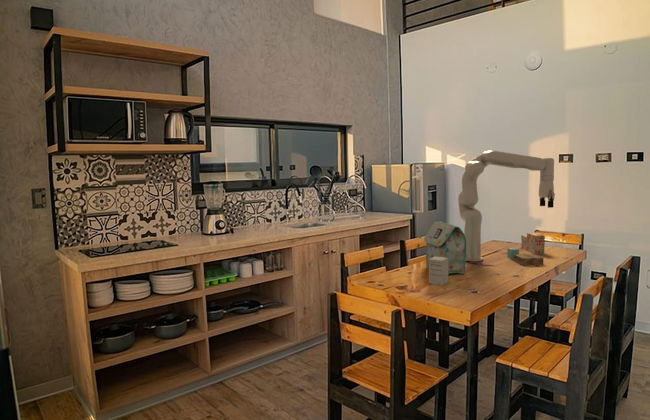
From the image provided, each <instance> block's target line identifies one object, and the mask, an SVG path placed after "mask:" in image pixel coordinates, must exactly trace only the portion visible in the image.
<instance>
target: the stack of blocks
mask: <svg viewBox="0 0 650 420" xmlns="http://www.w3.org/2000/svg"><path fill="white" fill-rule="evenodd" d="M520 239H521V249H522V250H524V251H527V252H529V253H530V254H535V255H545V243H546V240H545V239H546V236H545V235H544V234H542V233H539V232H526V234H522V235H521V238H520Z"/></svg>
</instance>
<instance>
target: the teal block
mask: <svg viewBox="0 0 650 420" xmlns="http://www.w3.org/2000/svg"><path fill="white" fill-rule="evenodd" d="M514 254H520V249H519V248H517V247H507V254H506V255H507V259H509V260H514Z"/></svg>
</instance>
